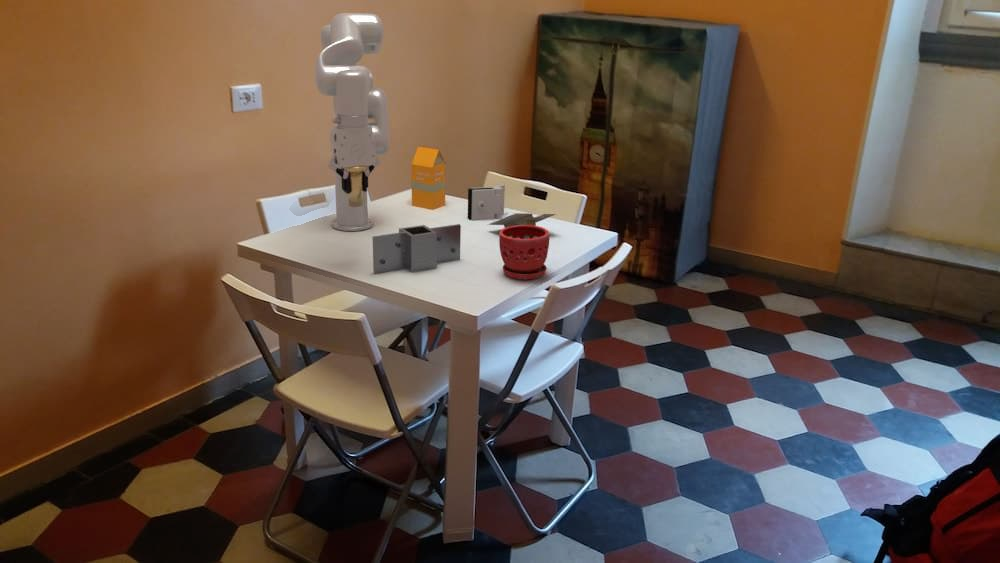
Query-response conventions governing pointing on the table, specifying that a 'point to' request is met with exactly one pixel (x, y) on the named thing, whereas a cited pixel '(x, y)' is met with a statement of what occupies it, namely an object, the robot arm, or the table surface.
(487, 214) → the hinge
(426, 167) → the orange juice
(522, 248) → the plant pot
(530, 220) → the grey winged shape
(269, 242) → the table surface
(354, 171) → the pin
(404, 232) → the grey socket bracket
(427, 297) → the table surface
